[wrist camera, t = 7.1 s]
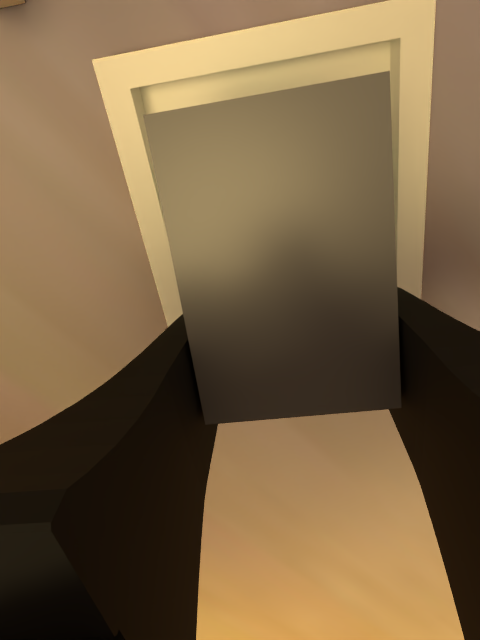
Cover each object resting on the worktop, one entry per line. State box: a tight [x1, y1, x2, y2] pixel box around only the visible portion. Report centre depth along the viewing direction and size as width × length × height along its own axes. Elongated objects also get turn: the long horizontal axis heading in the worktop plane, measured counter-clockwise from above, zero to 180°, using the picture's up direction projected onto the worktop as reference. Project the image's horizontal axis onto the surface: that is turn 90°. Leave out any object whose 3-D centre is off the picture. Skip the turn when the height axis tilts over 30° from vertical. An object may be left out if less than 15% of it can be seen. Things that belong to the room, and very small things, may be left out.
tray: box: [92, 0, 436, 327], centre depth 14 cm, size 11×9×2 cm
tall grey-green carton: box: [143, 71, 401, 425], centre depth 10 cm, size 6×4×5 cm, turn 10°
